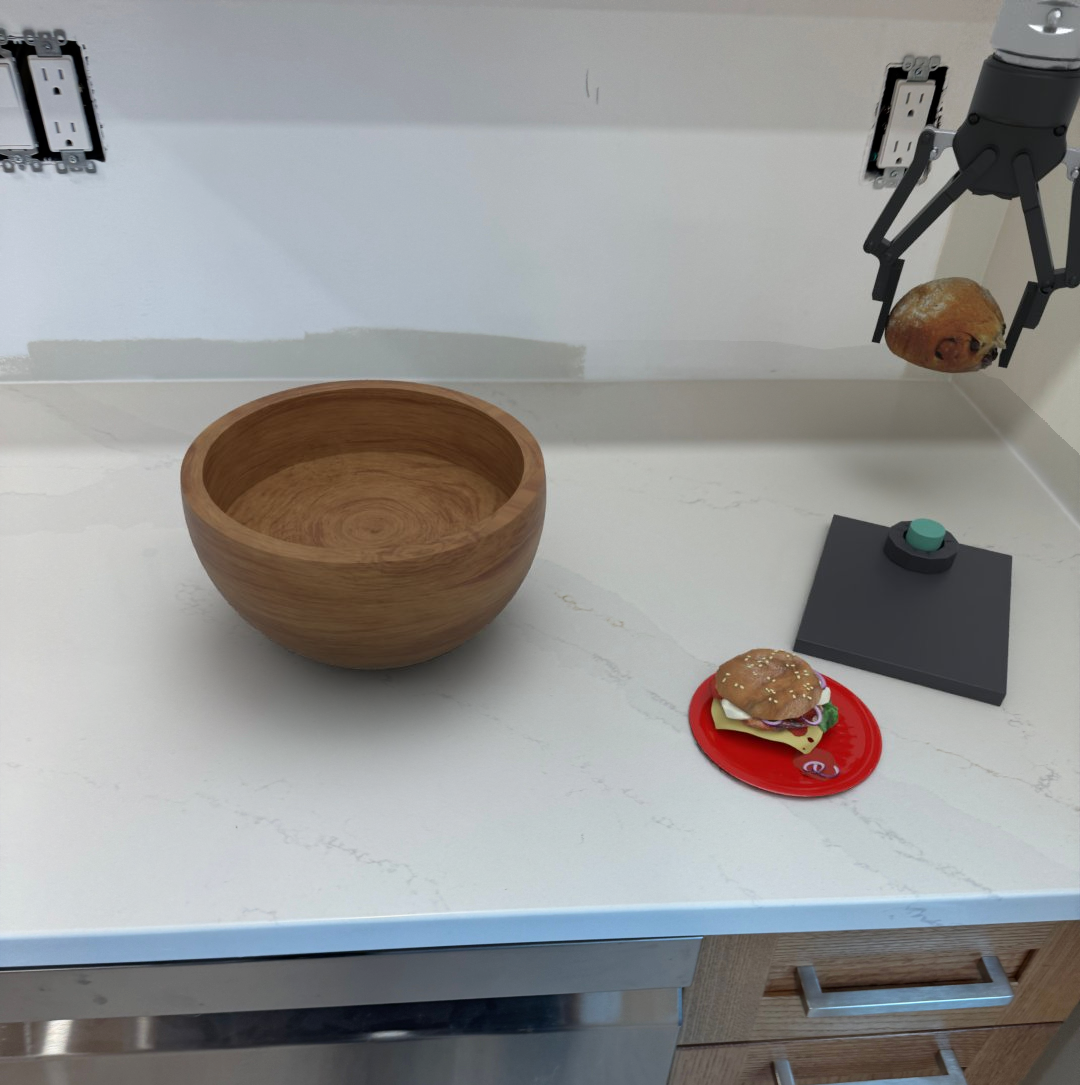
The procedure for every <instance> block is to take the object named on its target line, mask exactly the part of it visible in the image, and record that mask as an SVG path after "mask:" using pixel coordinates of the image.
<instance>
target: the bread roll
mask: <svg viewBox="0 0 1080 1085" xmlns="http://www.w3.org/2000/svg"><path fill="white" fill-rule="evenodd" d="M999 305H1000V304H998V302H997V300H996V298H995V297H994V296H993V295H992V293H991V291H990V290H989V289H988V288H986V287H985V286H983V285H980V283H979V282H977V281H975V280H974V279H971V278H968V277H963V276H951V277H942V278H937V279H933V280H929V281H927V282H925V283H924V282H923V283H920V284H918V285H917V286H914V287H912V288H911V289H909V290H908V292H906V293H905V294H904V295H902V297H901V298H899V300H898V301H897V302H896V303H895V304H894V306H893V307H891V309H890V313H889V316H888V318H887V322H886V325H885V330H884V333H883V335H884V339H885V344H886V347H887V348H888V350H889V351H890V352H891V353H892V354H893V355H895V356H897V357H898V358H900V359H902V360H904V361H905V362H908V363H910V364H912V365H914V366H917V367H920V368H922V369H927V370H931V371H935V372H940V373H946V374H966V373H974V372H975V373H976V372H979V371H980V370H986V369H987V368H989V367H990V366H992V365H993V362H995V361H996V360H997V358H998V357H999V352H998V349H1001V350H1002V349H1006V343H1005V337H1004V336H1005V334H1006V329H1007V324H1006V322H1005V319H1004V315H1003V312H1002V310H1001V307H1000V306H999Z"/></svg>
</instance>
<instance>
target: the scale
mask: <svg viewBox="0 0 1080 1085" xmlns="http://www.w3.org/2000/svg"><path fill="white" fill-rule="evenodd" d="M912 521H913V520H902V521H898V522H897V523H895V524H893V525H891V526H887V525H882V524H878V523H874V522H869V521H865V520H861V519H857V518H853V517H848V516H844V515H839V514H837V513H836V514H835V513H833V514H832V517H831V522H830V525H829V529H828V532H827V535H826V538H825V541H824V544H823V548H822V552H821V554H820V558H819V562H818V565H817V568H816V571H815V575H814V577H813V582H812V585H811V587H810V591H809V594H808V597H807V601H806V604H805V608H804V611H803V614H802V616H801V617H802V618H801V621H800V624H799V628H798V630H797V634H796V637H795V641H794V644H793V647H792V650H791V651H792V652H794V653H796V654H801V655H805V656H809V657H813V658H817V659H820V660H823V661H826V662H827V661H828V662H831V663H835V664H838V665H843V666H847V667H850V668H854V669H856V670H860V671H861V670H862V671H865V672H868V673H873V674H876V675H880V676H883V677H888V678H891V679H893V680H899V681H902V682H906V683H909V684H912V685H913V684H914V685H917V686H921V687H924V688H928V689H932V690H935V691H939V692H943V693H946V694H951V695H955V696H958V697H963V698H965V699H969V700H973V701H977V702H981V703H984V704H988V705H992V706H994V707H1001V705H1002V704H1003V702H1004V700H1005V698H1006V696H1007V694H1008V693H1007V691H1008V690H1007V689H1008V670H1009V668H1008V666H1009V644H1010V621H1011V600H1012V599H1011V597H1012V596H1011V595H1012V578H1013V577H1012V576H1013V574H1012V572H1013V570H1012V569H1013V555H1011V554H1007V553H1003V552H998V551H993V550H990V549H986V548H981V547H977V546H972V545H968V544H964V543H960V542H959V541H958V540H957V539H956V537H955V536H954V535H953V534H952V532H950V531H949V530H947V529H945V530H946V533H945V536H944V538H943V541H942V543H941V546H940V548H939V549H938V550H935V551H926V550H922V549H918V548H915V547H913V546H911V545H909V544H908V543H907V542H906V539H905V538H906V535H907V532H908V529H909V527H910V524H911V522H912Z"/></svg>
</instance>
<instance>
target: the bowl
mask: <svg viewBox="0 0 1080 1085" xmlns="http://www.w3.org/2000/svg"><path fill="white" fill-rule="evenodd" d="M179 472H180V474H179V476H180V478H179V479H180V496H181V504H182V510H183V516H184V520H185V524H186V527H187V530H188V535H189V537H190V540H191V543H192V545H193V548H194V551H195V553H196V555H197V558H198V559H199V561H200V562H199V563H201V565H202V567H203V569H204V571H205V573H206V575H207V576H208V578H209V580H210V581H211V582H212V584H213V585H214V587H215V589H216V590H217V591H218V593H219V594H220V595H221V596H222V598H223V599H224V600H225V601H226V602H227V604H228V605H229V607H231V608H232V609H233V610H234V611H235V612H236V613H237V614H238V615H239V616H240V617H241V618H242V619H243V620H244V621H246V623H247V624H249V626H251V627H252V628H254V629H255V630H256V631H257V632H259V633H260V634H262V635H263V636H264V637H265V638H267V639H269V640H270V641H272V642H273V643H275V644H277V645H279V646H281V647H282V648H283V649H286V650H288V651H290V652H292V653H294V654H296V655H298V656H302V657H303V658H307V659H308V660H312V661H315V662H318V663H320V664H321V663H322V664H326V665H330V666H333V667H338V668H339V667H340V668H345V669H347V668H348V669H355V670H388V669H389V670H390V669H398V668H403V667H408V666H413V665H416V664H420V663H424V662H426V661H430V660H432V659H435V658H439V657H440V656H443V655H445V654H447V653H449V652H450V651H453V650H455V649H457V648H459V647H460V646H462V645H464V644H465V643H467V642H468V641H470V640H471V639H472V638H474V637H475V636H477V635H478V634H479V633H481V632H482V631H483V630H484V629H485V628H486V627H488V626H489V625H490V624H491V623H492V622H493V621H494V620H495V619H496V618H498V616H499V615H500V614H501V613H502V612H503V611H504V610H505V609H506V607H507V606H508V605H509V603H510V602H511V601H512V600H513V599H514V597H515V595H516V594H517V592H518V591H519V589H520V587H521V586H522V584H523V582H524V581H525V579H526V577H527V575H528V573H529V571H530V569H531V567H532V565H533V562H534V560H535V557H536V554H537V551H538V549H539V545H540V542H541V537H542V535H543V529H544V525H545V520H546V519H545V518H546V510H547V509H546V508H547V473H546V465H545V459H544V455H543V451H542V449H541V446H540V444H539V443H538V441H537V439H536V438H535V436H534V435H533V434H532V432H531V431H530V430H529V429H528V428H527V427H526V426H525V425H524V424H523V423H522V422H521V421H519V420H518V419H517V418H516V417H514V416H513V415H512V414H511V413H508V412H507V411H505V410H504V409H502V408H501V407H498V406H497V405H495V404H493V403H491V402H489V401H486V400H484V399H481V398H479V397H476V396H473V395H471V394H469V393H464V392H461V391H458V390H454V389H451V388H447V387H443V386H437V385H433V384H428V383H427V384H426V383H421V382H413V381H403V380H394V379H349V380H338V381H328V382H320V383H313V384H308V385H302V386H298V387H297V386H296V387H293V388H289V389H285V390H281V391H278V392H274V393H271V394H268V395H265V396H261V397H259V398H257V399H254V400H252V401H251V400H250V401H249V402H247V403H244V404H243V405H241V406H240V405H239V406H238V407H236V408H234V409H232V410H230V411H228V412H227V413H225V414H223V415H221V416H220V417H218V418H217V419H215V420H214V421H212V423H210V424H209V425H208V426H207V427H205V428H204V429H203V430H202V431H201V432H200V433H199V434H198V435H197V436H196V438H194V440H193V441H192V442H191V444H190V445H189V447H188V448H187V450H186V452H185V454H184V456H183V459H182V461H181V466H180V471H179Z"/></svg>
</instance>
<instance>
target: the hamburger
mask: <svg viewBox="0 0 1080 1085" xmlns="http://www.w3.org/2000/svg"><path fill="white" fill-rule="evenodd" d="M688 717H689V724H690V729H691V730H692V733H693V736H694V738H695V740H696V742H697V744H698V745H699V746H700V748H701V749H702V750H703V752H704V753H705V754H706V755H707V756H708V757H709V759H711V761H713V762H714V763H715V764H716V765H717V766H718V767H720V769H722V770H724V771H725V772H726V773H728V774H730V775H731V776H733V777H735V778H736V779H738V780H740V781H741V782H744V783H746V784H748V785H751V786H753V787H756V788H758V789H761V790H764V791H766V792H771V793H775V794H779V795H785V796H793V797H806V798H807V797H808V798H809V797H822V796H829V795H833V794H838V793H841V792H844V791H847V790H849V789H851V788H854V787H856V786H857V785H859V784H860V783H862V782H863V781H865V780H866V779H867V778H868V777H869V776H870V775H871V774H872V773H873V772H874V770H875V769H876V768H877V766H878V764H879V762H880V760H881V756H882V753H883V752H882V751H883V738H882V732H881V729H880V726H879V724H878V722H877V719H876V718H875V716H874V714H873V712H872V711H871V710H870V709H869V707H868V705H866V703H864V702H863V700H862V699H861V698H860V697H859V696H857V695H856V694H855V693H854V692H853V691H851V689H849V688H848V687H847V686H845V685H843V684H842V683H840V682H838V681H837V680H835V679H833V678H831V677H830V676H827V675H825V674H823V673H820V672H818V671H817V670H815V669H813V668H812V667H811V665H810V664H809V663H808V662H807V661H806V660H804V659H803V658H801V657H799V656H798V653H792V652H791V653H790V652H788V651H787V650H786V651H785V650H784V649H783V648H780V649H772V648H765V647H764V646H762V647H756V648H753V649H750V650H748V651H746V652H744V653H741V654H738V655H736V656H734V657H732V658H730V659H729V660H726V661H725V662H723V663H722V664H720V665H719V666H718V668H717V670H716V672H715V673H713V674H711V675H709V676H708V677H707V678H705V680H703V681H702V683H700V685H699V686H698V687H697V688H696V689H695V691H694V693H693V695H692V697H691V700H690V704H689V711H688Z"/></svg>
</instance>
